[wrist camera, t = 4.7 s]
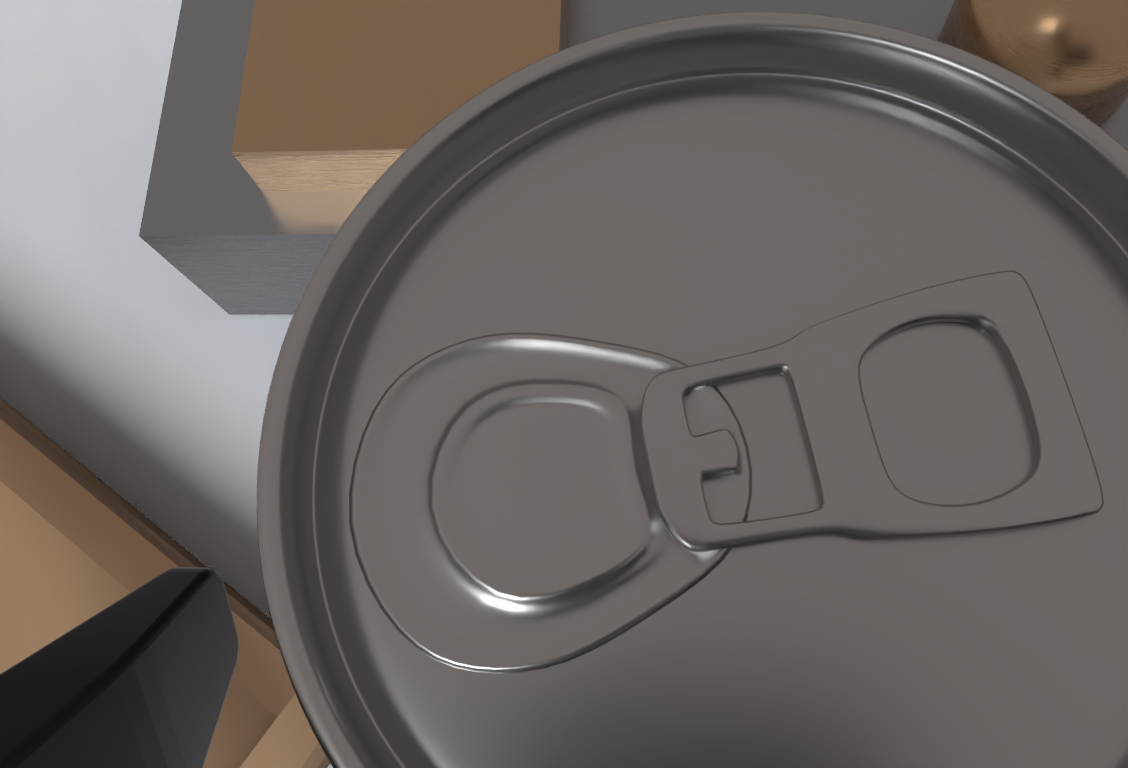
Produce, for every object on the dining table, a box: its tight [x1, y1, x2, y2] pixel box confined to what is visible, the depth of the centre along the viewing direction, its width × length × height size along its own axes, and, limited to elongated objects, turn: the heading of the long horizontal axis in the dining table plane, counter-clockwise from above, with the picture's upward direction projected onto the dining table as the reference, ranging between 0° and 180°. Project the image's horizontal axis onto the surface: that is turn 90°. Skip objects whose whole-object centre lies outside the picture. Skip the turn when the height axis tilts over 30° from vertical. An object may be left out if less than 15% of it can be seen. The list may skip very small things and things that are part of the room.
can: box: [257, 11, 1128, 768], centre depth 11 cm, size 6×6×12 cm
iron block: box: [139, 0, 1128, 314], centre depth 16 cm, size 18×6×6 cm, turn 88°
